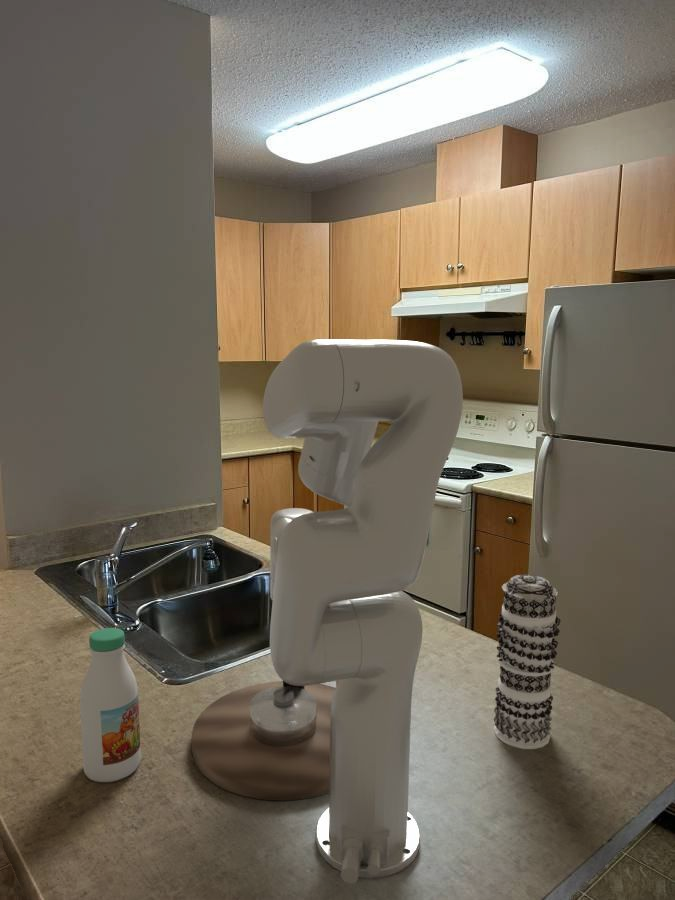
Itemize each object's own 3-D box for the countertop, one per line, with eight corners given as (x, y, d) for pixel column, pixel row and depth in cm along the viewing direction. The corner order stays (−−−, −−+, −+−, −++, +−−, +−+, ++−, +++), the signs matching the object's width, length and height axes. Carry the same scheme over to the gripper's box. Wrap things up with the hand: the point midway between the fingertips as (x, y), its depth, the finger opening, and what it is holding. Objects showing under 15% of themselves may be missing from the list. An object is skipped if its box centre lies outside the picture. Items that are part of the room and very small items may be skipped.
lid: (310, 749, 95) (310, 714, 95) (242, 743, 97) (242, 708, 96) (321, 712, 105) (321, 679, 104) (259, 707, 106) (259, 674, 106)
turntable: (371, 809, 86) (372, 766, 85) (163, 790, 89) (161, 749, 88) (382, 697, 114) (383, 664, 113) (222, 686, 117) (222, 654, 116)
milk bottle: (80, 788, 90) (73, 648, 87) (86, 755, 97) (79, 624, 94) (140, 779, 92) (135, 642, 89) (141, 747, 99) (136, 619, 96)
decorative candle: (555, 755, 98) (566, 593, 95) (491, 745, 101) (499, 587, 97) (550, 721, 107) (560, 572, 103) (491, 714, 109) (499, 567, 106)
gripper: (309, 607, 97) (308, 723, 100) (324, 572, 112) (323, 674, 115) (259, 604, 98) (259, 719, 101) (280, 570, 113) (280, 671, 116)
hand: (293, 695), depth 108 cm, fingers closed
